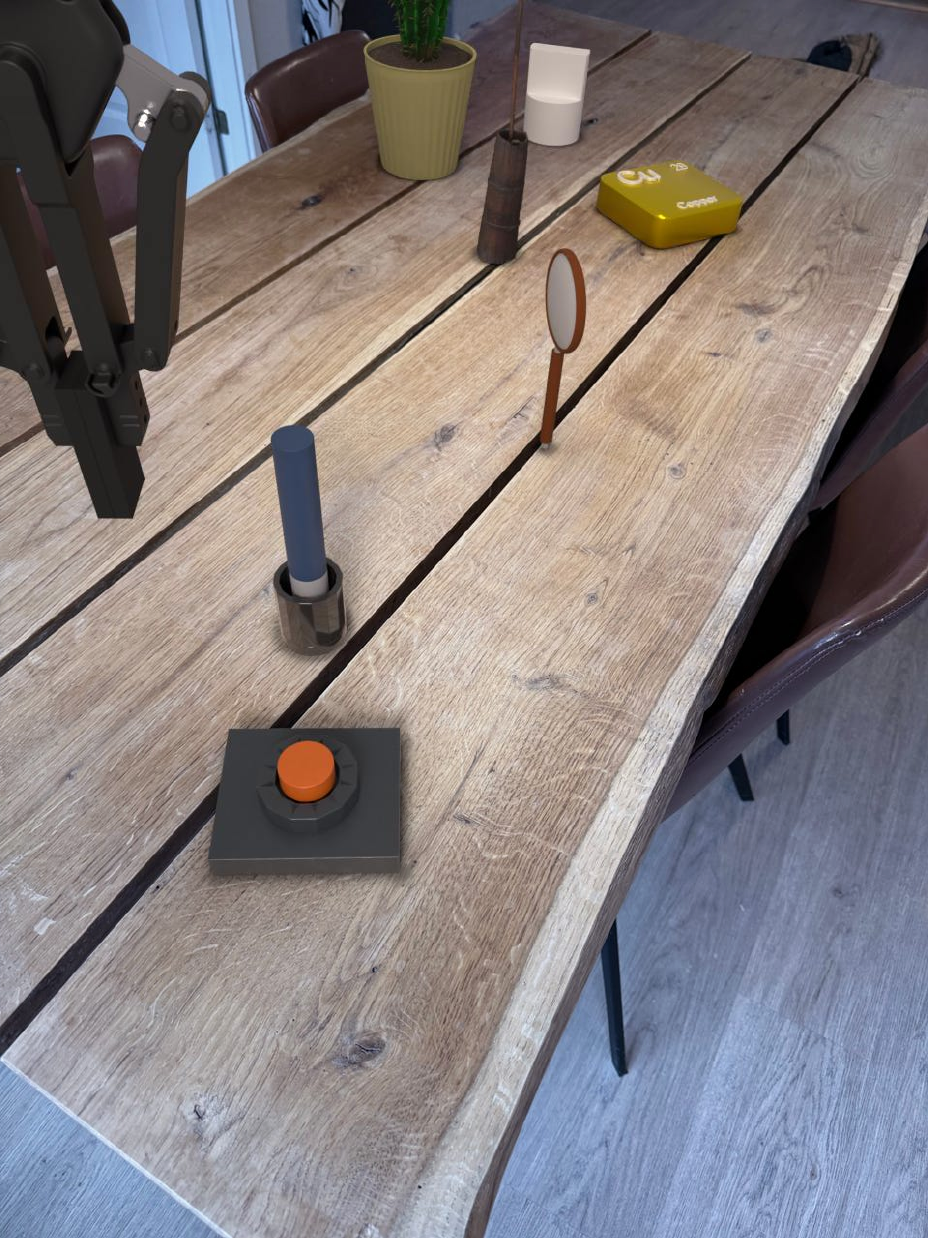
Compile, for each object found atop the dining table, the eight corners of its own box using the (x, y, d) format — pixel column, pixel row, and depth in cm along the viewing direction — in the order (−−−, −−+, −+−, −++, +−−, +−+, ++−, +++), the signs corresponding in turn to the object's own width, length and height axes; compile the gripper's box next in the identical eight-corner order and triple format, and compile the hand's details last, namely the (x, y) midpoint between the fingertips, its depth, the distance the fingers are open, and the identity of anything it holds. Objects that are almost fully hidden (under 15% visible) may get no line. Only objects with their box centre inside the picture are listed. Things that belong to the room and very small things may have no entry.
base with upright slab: (582, 128, 147) (593, 43, 138) (574, 148, 141) (585, 62, 132) (528, 120, 148) (536, 36, 139) (517, 141, 142) (525, 54, 133)
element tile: (654, 252, 119) (662, 216, 115) (590, 205, 127) (595, 170, 124) (741, 231, 124) (751, 195, 121) (674, 188, 133) (681, 153, 129)
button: (277, 802, 58) (274, 788, 57) (282, 755, 60) (280, 740, 59) (334, 802, 58) (332, 787, 57) (337, 754, 61) (335, 740, 59)
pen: (294, 635, 71) (268, 450, 57) (297, 609, 73) (272, 424, 59) (330, 635, 71) (312, 451, 58) (332, 609, 73) (315, 424, 59)
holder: (278, 655, 71) (269, 603, 66) (284, 606, 74) (276, 554, 70) (345, 655, 71) (341, 603, 67) (348, 606, 74) (344, 554, 70)
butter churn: (531, 281, 112) (559, 19, 91) (456, 271, 113) (467, 9, 92) (540, 247, 118) (568, -6, 97) (468, 238, 119) (481, -14, 98)
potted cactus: (485, 154, 138) (500, -92, 115) (448, 194, 128) (456, -68, 106) (393, 136, 141) (389, -108, 119) (349, 173, 131) (337, -85, 109)
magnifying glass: (524, 423, 92) (546, 230, 78) (540, 422, 93) (566, 229, 78) (548, 476, 87) (577, 279, 72) (565, 474, 87) (597, 278, 72)
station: (213, 876, 58) (202, 846, 55) (233, 746, 65) (224, 713, 62) (399, 873, 59) (398, 843, 56) (400, 744, 66) (400, 712, 63)
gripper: (-485, -232, 19) (-61, 557, 37) (134, -199, 20) (262, 558, 38) (-302, -265, 24) (-4, 443, 42) (189, -238, 25) (279, 447, 43)
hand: (121, 497), depth 40 cm, fingers closed
